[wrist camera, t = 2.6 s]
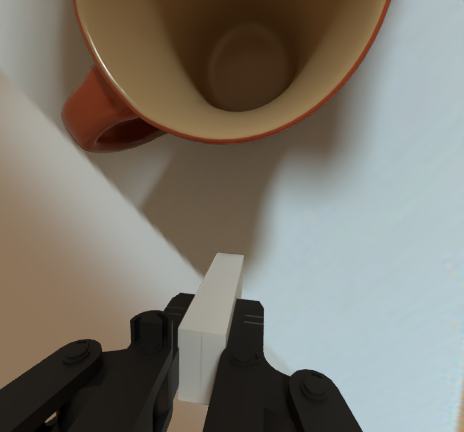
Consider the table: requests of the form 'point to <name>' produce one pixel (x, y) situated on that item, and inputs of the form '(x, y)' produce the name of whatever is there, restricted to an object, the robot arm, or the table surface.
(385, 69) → the table surface
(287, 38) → the mug
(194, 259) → the table surface
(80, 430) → the robot arm
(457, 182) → the table surface
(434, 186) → the table surface
